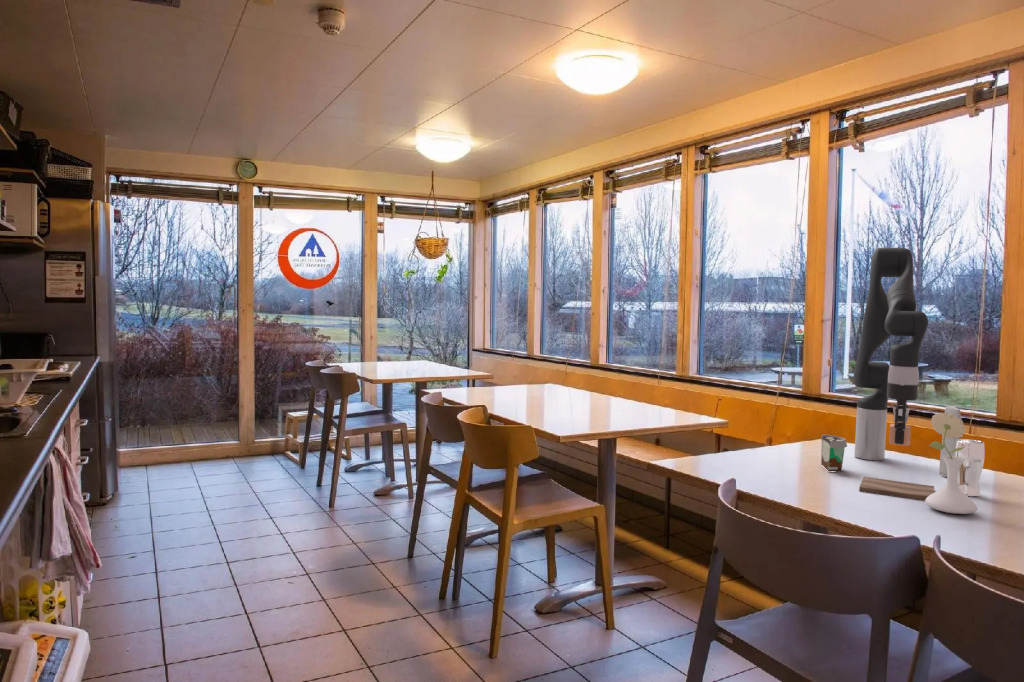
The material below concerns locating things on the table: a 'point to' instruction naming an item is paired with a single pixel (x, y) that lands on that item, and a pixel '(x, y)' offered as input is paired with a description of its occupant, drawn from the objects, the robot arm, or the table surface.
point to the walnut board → (896, 488)
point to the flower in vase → (950, 469)
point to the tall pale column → (948, 441)
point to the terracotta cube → (906, 435)
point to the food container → (832, 452)
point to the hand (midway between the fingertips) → (899, 441)
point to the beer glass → (970, 465)
